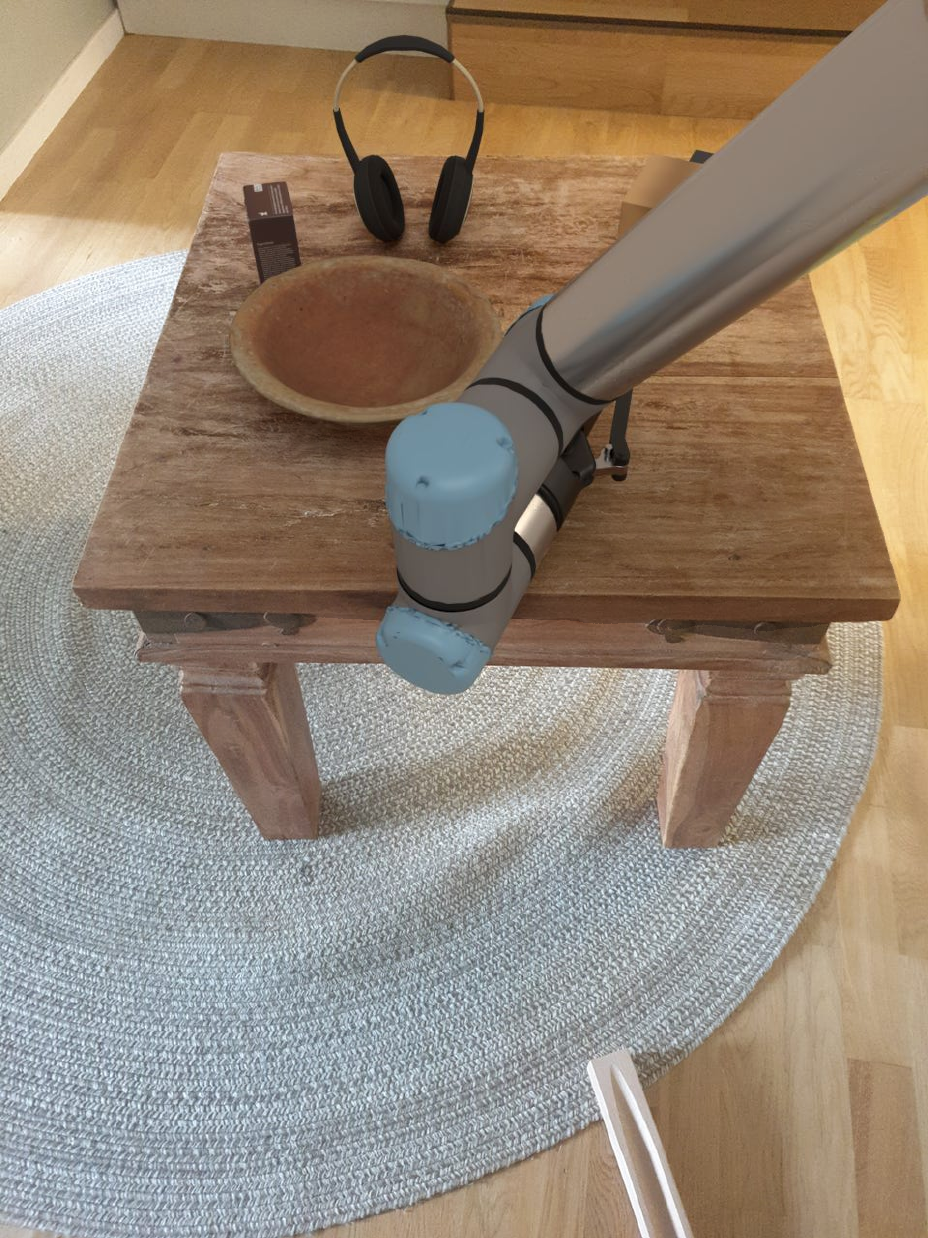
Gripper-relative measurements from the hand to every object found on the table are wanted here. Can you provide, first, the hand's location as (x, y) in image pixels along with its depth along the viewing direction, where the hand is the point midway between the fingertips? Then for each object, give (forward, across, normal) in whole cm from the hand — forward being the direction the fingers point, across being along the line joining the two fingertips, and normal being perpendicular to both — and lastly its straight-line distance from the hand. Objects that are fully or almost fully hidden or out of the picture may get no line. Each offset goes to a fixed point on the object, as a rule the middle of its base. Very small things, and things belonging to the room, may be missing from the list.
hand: (623, 323), depth 81 cm
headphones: (+14, -28, -7) cm, 32 cm away
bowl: (-10, -20, -7) cm, 23 cm away
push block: (+18, -1, -7) cm, 19 cm away
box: (-3, -34, -7) cm, 35 cm away
